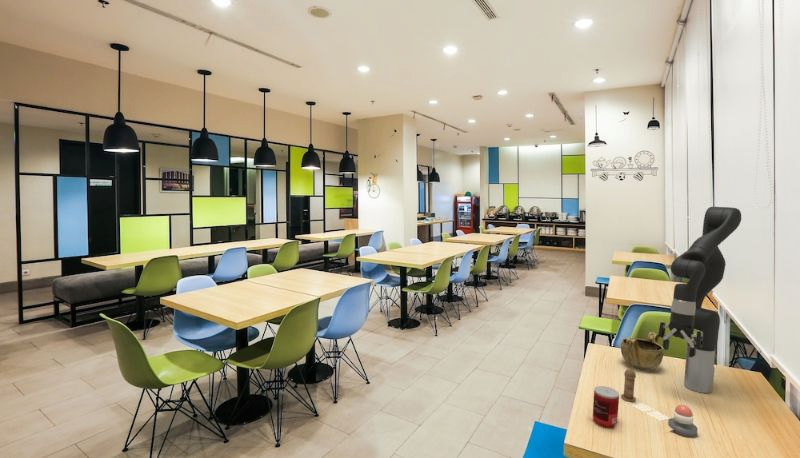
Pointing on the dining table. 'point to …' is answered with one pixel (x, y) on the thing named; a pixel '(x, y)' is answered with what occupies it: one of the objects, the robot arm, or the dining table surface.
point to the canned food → (605, 406)
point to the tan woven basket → (642, 351)
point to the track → (645, 408)
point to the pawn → (629, 386)
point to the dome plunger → (683, 414)
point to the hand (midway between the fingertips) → (678, 353)
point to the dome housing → (683, 428)
